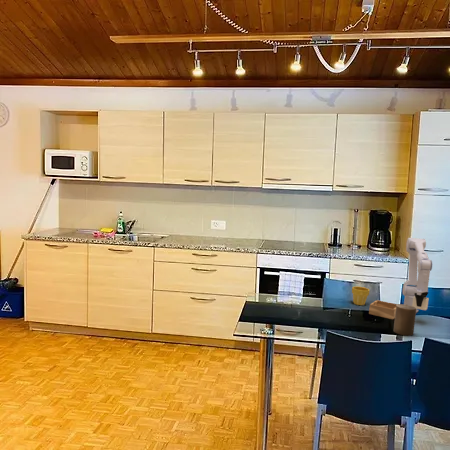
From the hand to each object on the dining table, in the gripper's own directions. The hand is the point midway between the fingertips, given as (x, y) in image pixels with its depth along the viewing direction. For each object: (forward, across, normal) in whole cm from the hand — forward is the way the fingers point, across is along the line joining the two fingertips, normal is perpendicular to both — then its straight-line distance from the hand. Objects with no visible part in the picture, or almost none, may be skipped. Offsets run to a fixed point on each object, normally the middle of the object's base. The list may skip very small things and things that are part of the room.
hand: (419, 305), depth 259 cm
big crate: (+9, 0, -19) cm, 21 cm away
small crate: (+2, 0, 0) cm, 2 cm away
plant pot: (+10, -10, -37) cm, 39 cm away
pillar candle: (+10, +26, -2) cm, 28 cm away
